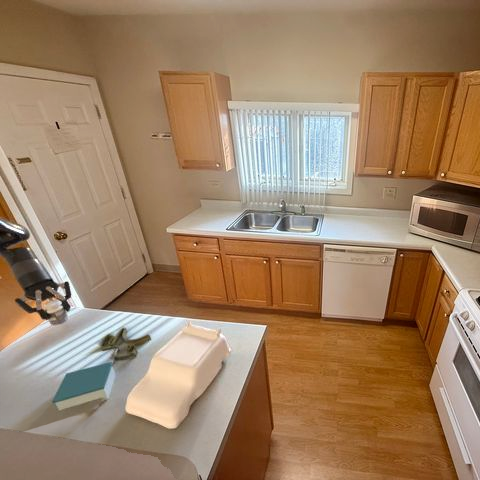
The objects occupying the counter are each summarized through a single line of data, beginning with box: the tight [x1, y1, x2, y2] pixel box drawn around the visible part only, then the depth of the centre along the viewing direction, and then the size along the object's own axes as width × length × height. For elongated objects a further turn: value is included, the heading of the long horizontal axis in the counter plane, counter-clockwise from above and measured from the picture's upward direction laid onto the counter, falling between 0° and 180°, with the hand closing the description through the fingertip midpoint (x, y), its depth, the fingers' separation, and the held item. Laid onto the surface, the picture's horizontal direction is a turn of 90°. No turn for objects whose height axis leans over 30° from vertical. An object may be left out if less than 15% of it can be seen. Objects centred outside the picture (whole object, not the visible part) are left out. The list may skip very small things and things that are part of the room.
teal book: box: [51, 361, 117, 411], centre depth 80 cm, size 12×10×6 cm
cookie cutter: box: [99, 327, 152, 361], centre depth 99 cm, size 18×12×2 cm, turn 75°
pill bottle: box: [43, 299, 70, 327], centre depth 89 cm, size 5×5×8 cm
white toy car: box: [124, 320, 232, 430], centre depth 85 cm, size 19×30×13 cm, turn 165°
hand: (58, 314), depth 88 cm, fingers closed on pill bottle, 4 cm apart
